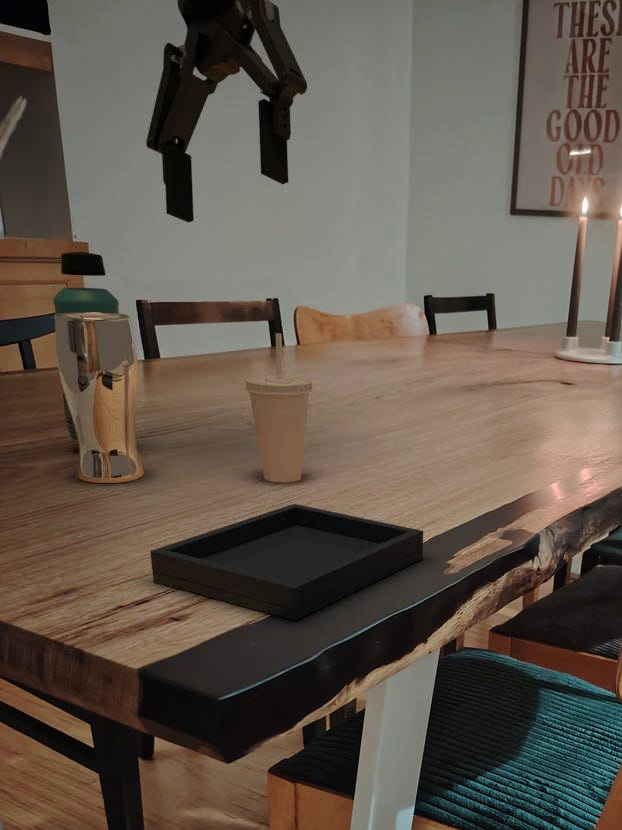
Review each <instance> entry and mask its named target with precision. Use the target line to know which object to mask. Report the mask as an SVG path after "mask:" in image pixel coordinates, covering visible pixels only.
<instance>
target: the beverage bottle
mask: <svg viewBox="0 0 622 830" xmlns="http://www.w3.org/2000/svg"><path fill="white" fill-rule="evenodd" d="M60 262H61V263H60V265H61V266H60V271H61V275H65V276H68V275H69V276H88V277H103V276H104V277H105V276H106V269H105V265H104V260H103V256H102V255H101V254H97V253H94V252H93V253H92V252H86V251H71V252H64V253H63V252H62V253H61V254H60ZM52 301H53V302H52V303H53V306H54V313H55V314H58V313H70V312H101V313H117V314H120V310H119V306H120V302H119V299H117V297H115V296H114V295H113V293H111V291H109V290H108V289H106V288H99V287H98V288H96V287H95V288H94V287H62V288H61V289H60V290H59V291H58V292H57V293H56V294H55V296H54V297H53V299H52ZM55 314H54V315H55ZM62 390H63V389H62ZM62 398H63V407H64V416H65V422H66V424H65V425H66V430H67V432H68V434H69V436H70V439H72V440H74V441H77V442H78V438H77V433H76V429H75V426H74V422H73V419H72V416H71V413H70V410H69V407H68V403H67V400H66V397H65V393H64V390H63V392H62Z"/></svg>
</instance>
